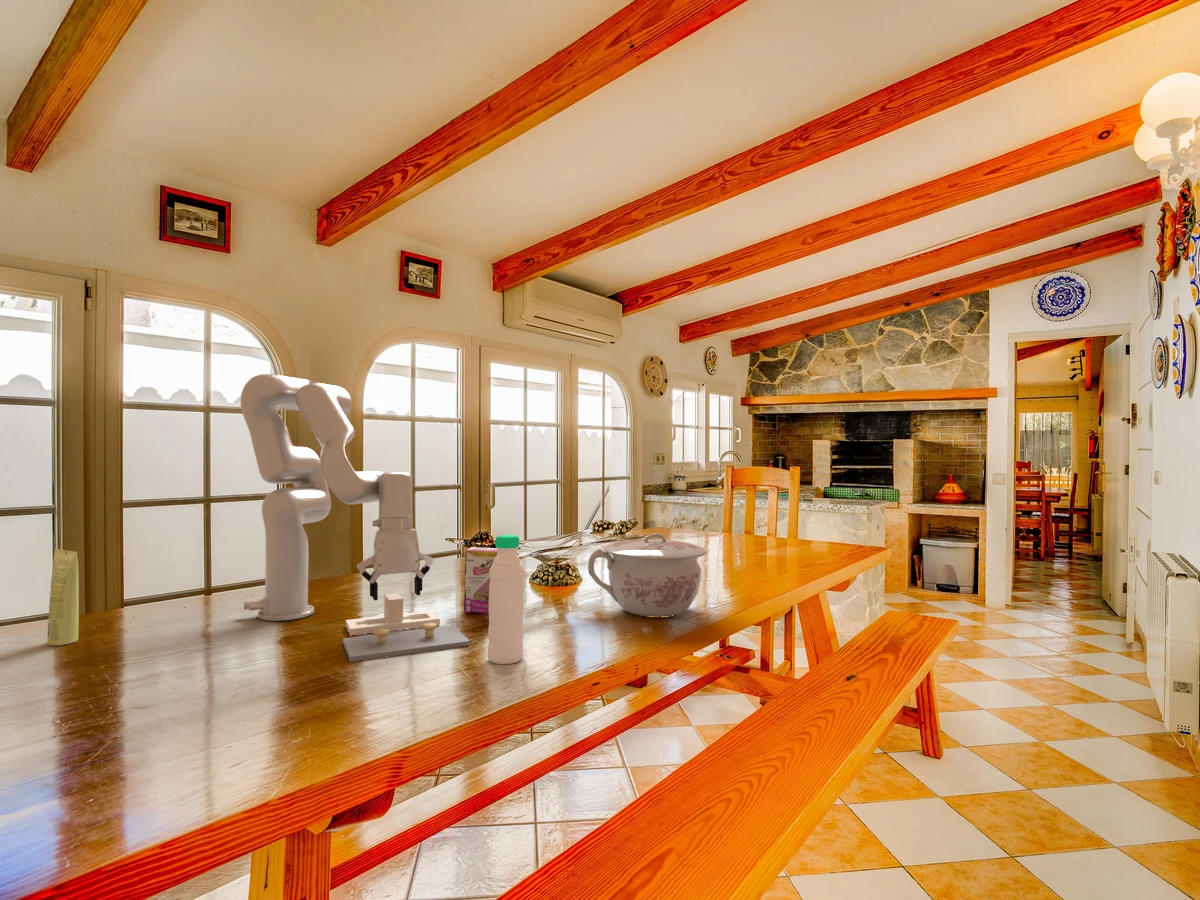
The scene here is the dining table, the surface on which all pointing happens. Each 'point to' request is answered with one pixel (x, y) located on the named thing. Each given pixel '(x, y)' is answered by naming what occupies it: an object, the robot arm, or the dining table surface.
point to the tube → (64, 599)
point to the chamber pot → (651, 574)
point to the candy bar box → (478, 579)
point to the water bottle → (506, 603)
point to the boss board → (403, 642)
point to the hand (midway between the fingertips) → (396, 596)
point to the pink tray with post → (391, 618)
